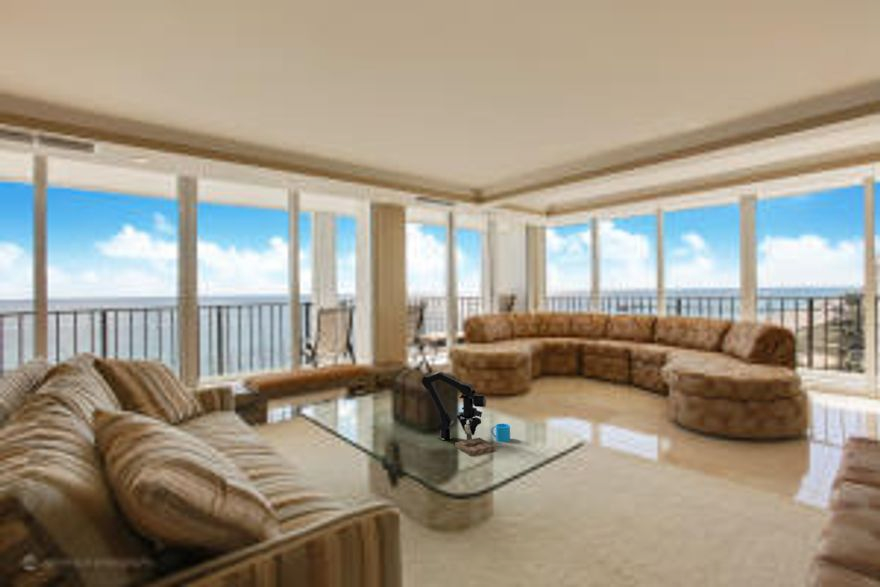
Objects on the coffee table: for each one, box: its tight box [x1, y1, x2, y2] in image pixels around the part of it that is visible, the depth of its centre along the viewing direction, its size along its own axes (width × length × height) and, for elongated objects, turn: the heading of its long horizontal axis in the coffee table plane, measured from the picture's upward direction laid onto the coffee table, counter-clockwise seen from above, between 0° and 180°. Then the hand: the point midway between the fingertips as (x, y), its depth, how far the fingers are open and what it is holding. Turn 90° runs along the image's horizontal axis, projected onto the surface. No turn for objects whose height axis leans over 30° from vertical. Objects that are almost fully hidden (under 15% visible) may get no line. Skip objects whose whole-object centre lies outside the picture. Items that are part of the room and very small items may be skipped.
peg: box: [464, 423, 473, 440], centre depth 242 cm, size 5×5×9 cm
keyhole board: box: [454, 437, 497, 457], centre depth 228 cm, size 16×16×2 cm
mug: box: [490, 423, 511, 443], centre depth 243 cm, size 12×8×8 cm
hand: (468, 432), depth 242 cm, fingers open, 9 cm apart
